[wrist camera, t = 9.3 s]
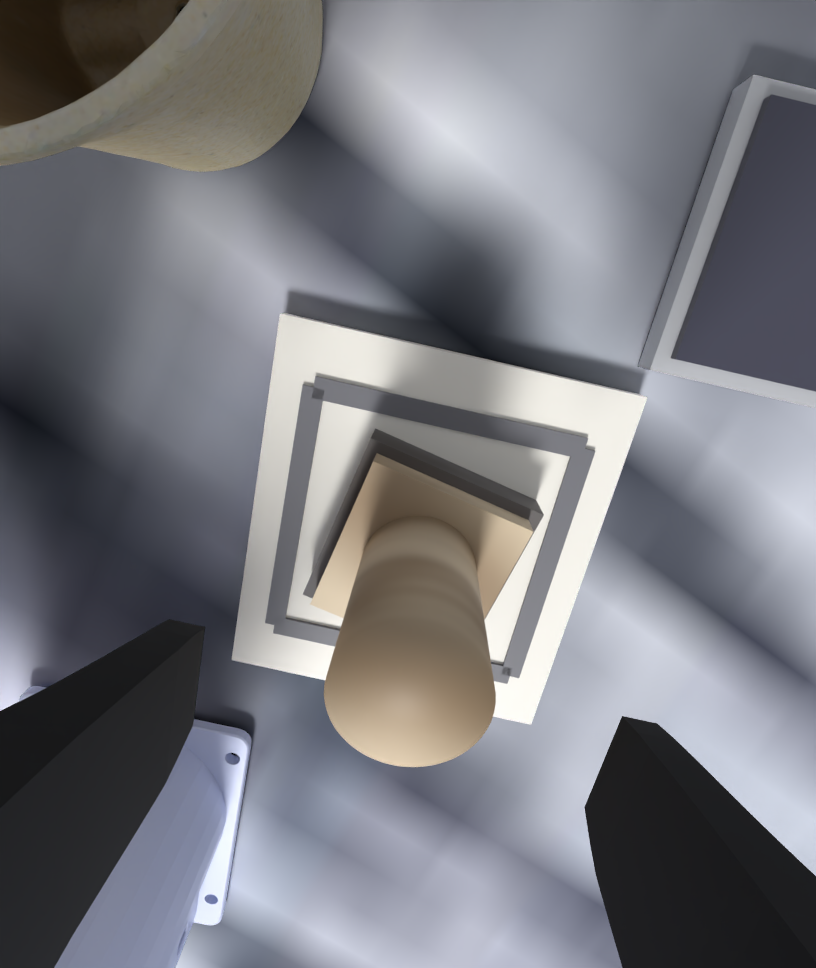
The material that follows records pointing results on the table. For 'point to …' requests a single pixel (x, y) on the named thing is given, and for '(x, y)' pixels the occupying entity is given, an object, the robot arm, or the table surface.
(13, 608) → the table surface
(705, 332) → the ink pad
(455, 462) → the print card
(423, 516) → the stamp
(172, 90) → the flower pot
